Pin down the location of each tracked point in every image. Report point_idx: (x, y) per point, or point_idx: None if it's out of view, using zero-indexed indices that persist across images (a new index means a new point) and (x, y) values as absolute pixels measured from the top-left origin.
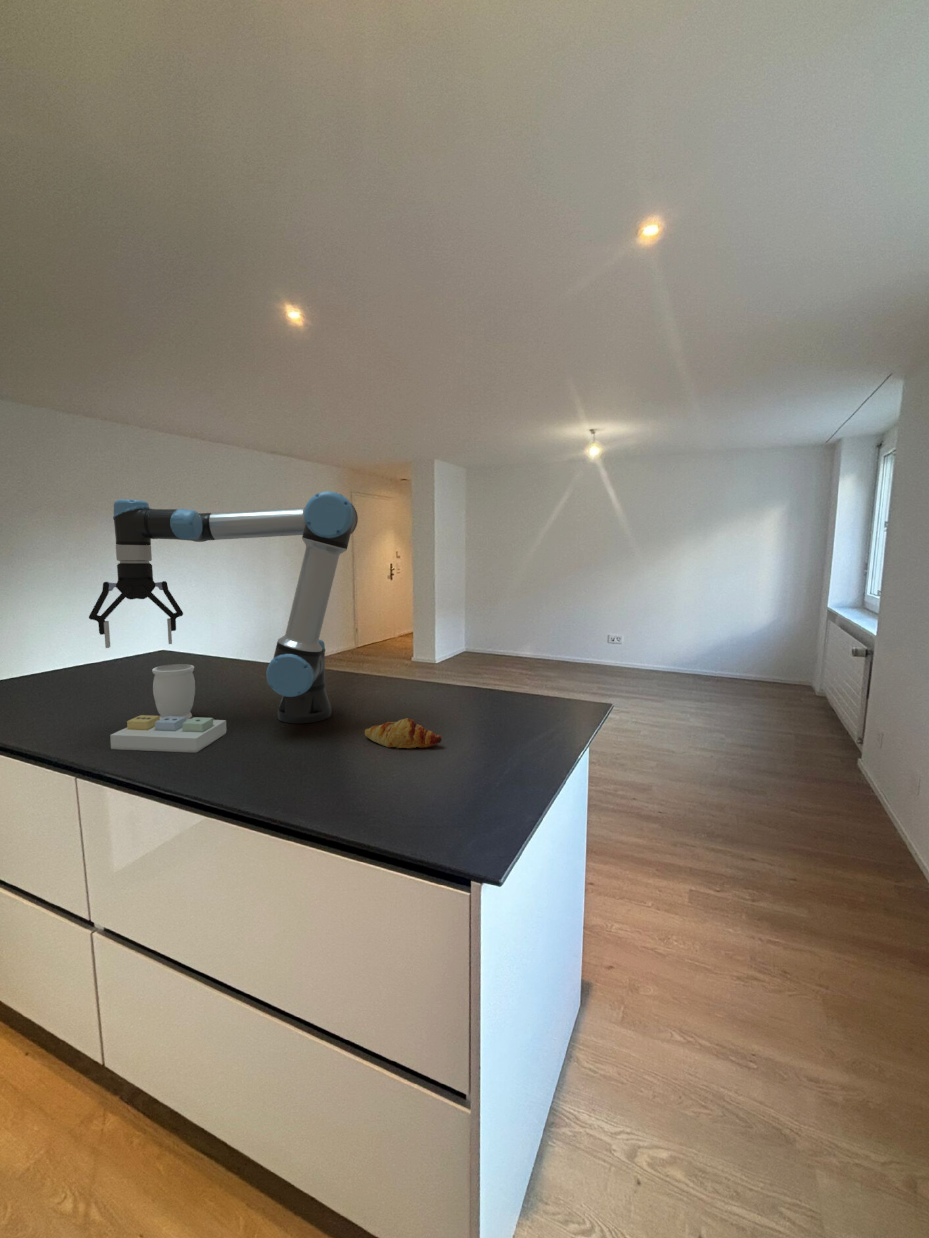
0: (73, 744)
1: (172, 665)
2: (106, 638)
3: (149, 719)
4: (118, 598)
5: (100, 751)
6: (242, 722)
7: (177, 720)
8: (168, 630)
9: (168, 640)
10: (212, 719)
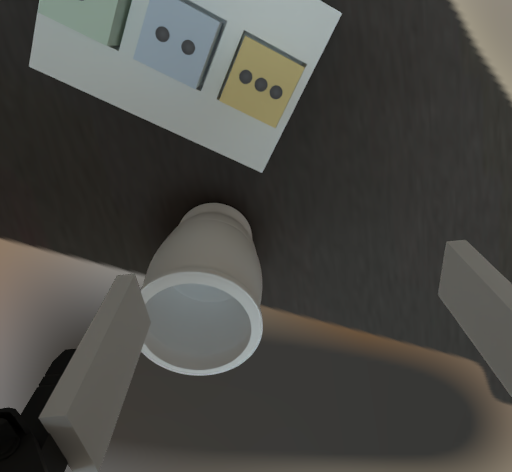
0: (423, 97)
1: (211, 371)
2: (491, 274)
3: (241, 65)
4: None
5: (357, 3)
6: (35, 154)
7: (150, 18)
8: (100, 336)
9: (127, 289)
10: (41, 8)
